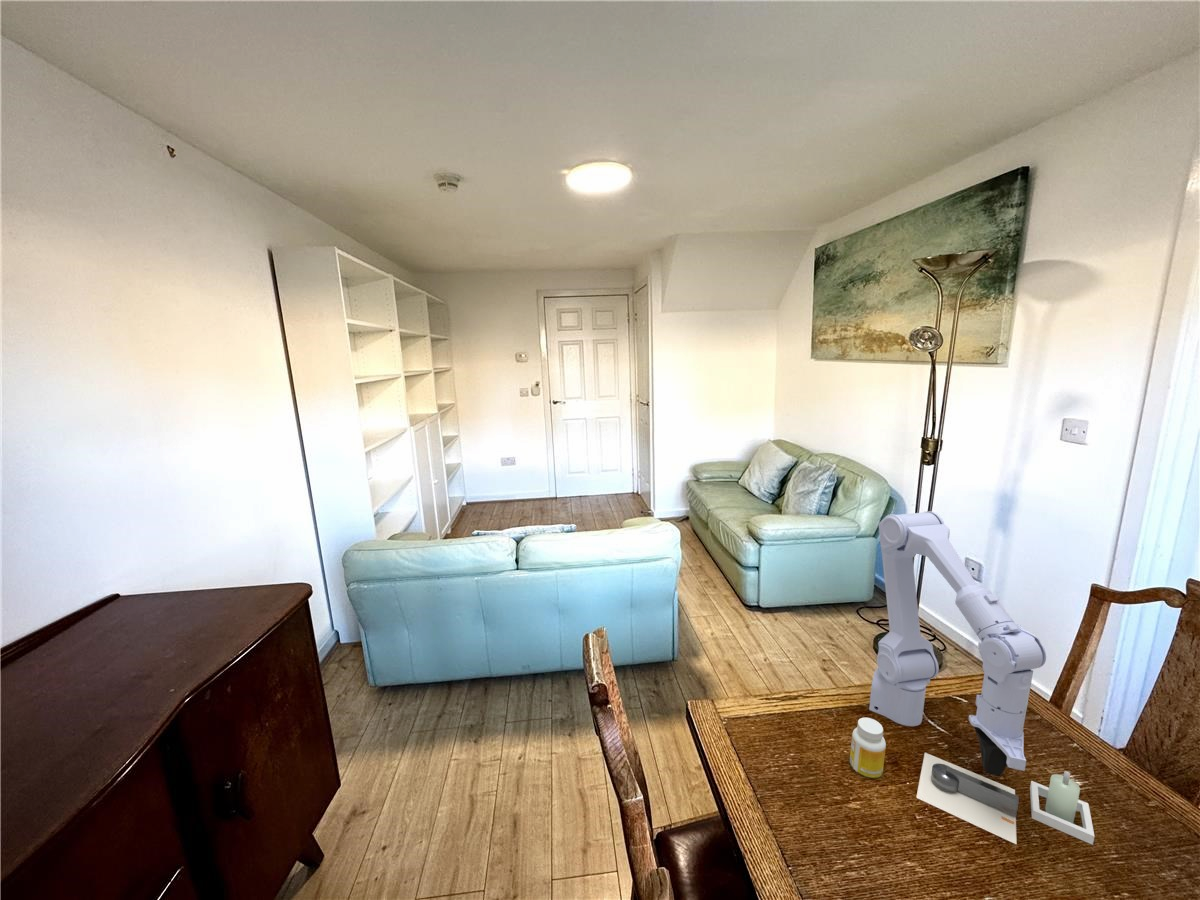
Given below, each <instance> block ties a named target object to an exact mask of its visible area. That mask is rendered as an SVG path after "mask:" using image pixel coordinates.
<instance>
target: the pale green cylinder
mask: <svg viewBox="0 0 1200 900" xmlns="http://www.w3.org/2000/svg"><path fill="white" fill-rule="evenodd" d="M1049 781H1050V782H1049V787H1048V788H1049V790H1048V795H1047V798H1046V802H1045V807H1044V809H1045V810H1044V811H1045V812H1047V813H1049V814H1051V815H1054V816H1056V817H1058V818H1061V819H1063V820H1066V821H1068V822H1070V823H1073V824H1075V823H1074V822H1075V817H1076V812H1077V810H1076V808H1077V803H1078V799H1079V798H1080V797H1079V796H1080V792H1081V788H1080V786H1079V785H1078V783H1077V782H1076V781H1074V780H1073V779H1071V772H1069V771H1067V770H1064V772H1063V774H1059V773H1058V774H1057V773H1055V774H1051V776H1050V779H1049Z"/></svg>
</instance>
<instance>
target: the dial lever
mask: <svg viewBox="0 0 1200 900" xmlns="http://www.w3.org/2000/svg"><path fill="white" fill-rule="evenodd" d="M931 780H932V782H933V783H934V784H935V785H936V786H937V787H938V788H940V789H941V790H943V791H945V792H949V793H956V792H958V791H959V792H961V793H963V794H965V795H968V796H970V797H972V798H974V799H977V800H979V801H981V802H983V803H986V804H988V805H990V806H992V807H995V808H997V809H999V810H1001V811H1004V812H1006V813H1008V814H1010V815H1013V816H1015V817H1016V818H1017V814H1018V807H1019V802H1020V801H1019V800H1020V799H1019V795H1017V794H1016V793H1015V794H1012V793H1010V792H1008V791H1005V790H1003V789H1000V788H998V787H996V786H993V785H991V784H989V783H986V782H984V781H982V780H979V779H977V778H974V777H972V776H970V775H967V774H965V773H963V772H960V771H958V770H956V769H953V768H951V767H949V766H947V765H944V764H934V765H933V766H932V773H931Z"/></svg>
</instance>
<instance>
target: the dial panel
mask: <svg viewBox="0 0 1200 900" xmlns="http://www.w3.org/2000/svg"><path fill="white" fill-rule="evenodd" d="M934 764H944V765H947V766H949V767H951V768H953V769H956V770H958V771H960V772H963V773H965V774H967V775H970V776H972V777H974V778H977V779H979V780H982V781H984V782H986V783H989V784H991V785H993V786H996V787H998V788H1000V789H1003V790H1005V791H1008V792H1010V793H1012V794H1015V795H1016V789H1013V788H1011V787H1009V786H1008V785H1004V784H1001V783H999V782H998V781H994V780H992V779H990V778H987V777H985V776H983V775H981V774H978V773H975V772H973V771H971V770H968V769H966V768H963V767H961V766H958V765H956V764H954V763H951V762H949V761H947V760H944V759H942V758H939V757H937V756H934V755H932V754H929V753H927V752H924V755H923V761H922V765H921V771H920V775H919V776H920V777H919V781H918V787H917V793H916V797H915V798H917V799H918V800H921V801H922V802H925V803H926V804H929V805H931V806H933V807H934V808H938V809H940V810H941V811H944V812H946V813H948V814H950V815H952V816H954V817H955V818H956V817H957V818H959V819H961V820H962V821H965V822H967V823H970V824H972V825H974V826H976V827H977V828H980V829H983V830H984V831H986V832H989V833H991V834H993V835H994V836H995V835H996V836H997V837H999V838H1002V839H1003V840H1005V841H1008V842H1010V843H1012V844H1014V845H1017V816H1016V817H1015V816H1013V815H1010V814H1008V813H1006V812H1004V811H1001V810H999V809H997V808H995V807H992V806H990V805H988V804H986V803H983V802H981V801H979V800H977V799H974V798H972V797H970V796H968V795H965V794H963V793H961V792H959V791H958V792H956V793H949V792H945V791H943V790H941V789H940V788H938V787H937V786H936V785H935V784H934V783H933V782H932V780H931V773H932V766H933V765H934Z"/></svg>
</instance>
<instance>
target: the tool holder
mask: <svg viewBox="0 0 1200 900" xmlns="http://www.w3.org/2000/svg"><path fill="white" fill-rule="evenodd" d="M1048 790H1049V787H1048V786H1046V785H1043V784H1041V783H1038V782H1035V781H1033V780H1031V781H1030V786H1029V794H1030V812H1031V819H1033V820H1035V821H1037V822H1039V823H1042V824H1044V825H1046V826H1049V827H1051V828H1053V829H1055V830H1058V831H1059V832H1062V833H1065V834H1066V835H1069V836H1071V837H1074V838H1076V839H1078V840H1081V841H1083V842H1085V843H1087V844H1090V845H1092V846H1093V845H1094V841H1095V838H1096V837H1095V833H1094V825H1093V822H1092V816H1091V815H1092V814H1091V809H1090V805H1089V803H1088V802H1086V801H1084V800H1082V799H1079V798H1078V803H1077V808H1076V812H1080V817H1081V824H1082V826H1080V825H1077V824H1075V823H1070V822H1068V821H1066V820H1063V819H1061V818H1058V817H1056V816H1054V815H1051V814H1049V813H1047V812H1046V811H1045V810H1042V809H1040V801H1039V796H1041V797H1042V798H1044V799H1047V795H1048Z"/></svg>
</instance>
